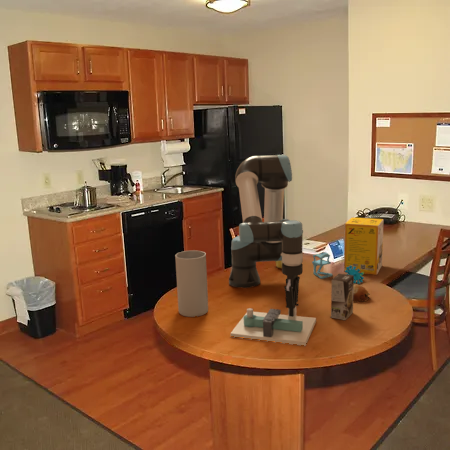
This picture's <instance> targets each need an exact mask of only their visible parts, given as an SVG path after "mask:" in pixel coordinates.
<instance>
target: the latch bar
mask: <svg viewBox="0 0 450 450" xmlns="http://www.w3.org/2000/svg"><path fill="white" fill-rule="evenodd" d="M253 312H254V309H253V308H250V307H249V308H246V313H247V315H245V314H244V315H245V316H244V315H243V317H244V326H247V327H254V326H255V327H263V319H264V317H261V316H256V315H253ZM273 329H280V330H288V331H296V332H301V331H302V329H303V321H296V320H287V319H277V320H276V322H275V323H274V325H273Z"/></svg>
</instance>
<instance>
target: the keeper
mask: <svg viewBox="0 0 450 450" xmlns="http://www.w3.org/2000/svg"><path fill="white" fill-rule="evenodd" d="M281 311H282V310H281V309H278V308H270V309H269V310H268V312H266V313H267V315H266V316H265V317H264V319H263V337H272V336H273V325H274V323H275V322H276V320H277V319H278V317H279V315H280V314H281Z"/></svg>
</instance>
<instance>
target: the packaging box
mask: <svg viewBox="0 0 450 450" xmlns="http://www.w3.org/2000/svg"><path fill="white" fill-rule="evenodd" d="M343 241H344V242H343V244H344V247H343V272H345V270H347V269H346V268H347V267H349V266H350V265H351V266H352V269H353V267H354V266H355V267H356V269H355V270H358V269H360V271H359V273H362V272H364V274H365V275H374V276H377V275H378V273H379V272H380V271H381V270H380V269H381V268H382V266H383V250H384V249H383V245H384V219H383V218H371V217H370V218H367V217H354V216H353V217H350V218H349V219H348V220H347V221H346V222H345V223H344V239H343ZM349 269H350V268H349ZM348 272H349V271H348ZM364 274H363V275H364Z"/></svg>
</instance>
